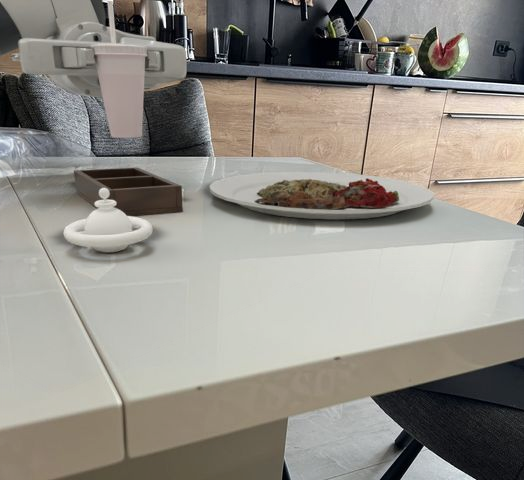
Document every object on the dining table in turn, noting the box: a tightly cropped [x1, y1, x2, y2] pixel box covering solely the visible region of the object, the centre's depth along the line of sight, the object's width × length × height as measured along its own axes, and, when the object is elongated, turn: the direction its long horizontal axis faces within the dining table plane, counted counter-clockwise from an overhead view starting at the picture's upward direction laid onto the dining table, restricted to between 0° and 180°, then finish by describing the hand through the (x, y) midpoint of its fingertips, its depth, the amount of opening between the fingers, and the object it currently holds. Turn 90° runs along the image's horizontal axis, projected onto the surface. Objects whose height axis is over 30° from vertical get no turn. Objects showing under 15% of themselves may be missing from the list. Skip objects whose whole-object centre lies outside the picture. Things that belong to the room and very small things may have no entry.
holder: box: [73, 166, 184, 217], centre depth 72 cm, size 9×17×3 cm, turn 29°
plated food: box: [208, 171, 435, 220], centre depth 74 cm, size 30×30×3 cm
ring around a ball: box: [63, 188, 154, 253], centre depth 50 cm, size 8×6×8 cm
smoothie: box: [91, 0, 148, 139], centre depth 64 cm, size 6×6×14 cm
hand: (122, 58), depth 62 cm, fingers closed on smoothie, 6 cm apart
